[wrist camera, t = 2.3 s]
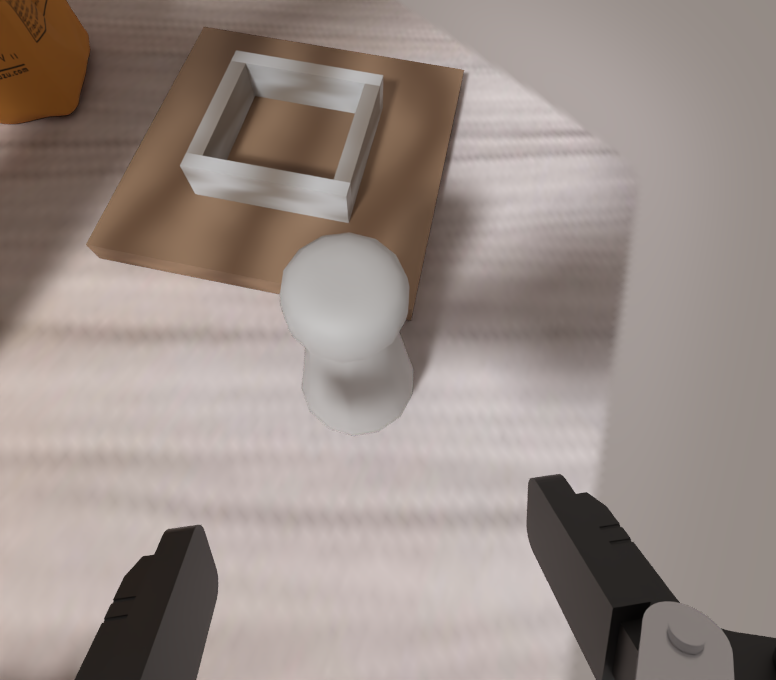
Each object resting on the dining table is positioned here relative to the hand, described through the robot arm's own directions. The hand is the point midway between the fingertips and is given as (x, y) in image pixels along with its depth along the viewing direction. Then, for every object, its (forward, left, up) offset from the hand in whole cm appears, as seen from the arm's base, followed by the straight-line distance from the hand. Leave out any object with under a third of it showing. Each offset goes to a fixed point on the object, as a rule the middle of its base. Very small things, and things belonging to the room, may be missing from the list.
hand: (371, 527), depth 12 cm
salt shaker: (-2, +7, -14) cm, 15 cm away
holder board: (-10, +22, -13) cm, 28 cm away
